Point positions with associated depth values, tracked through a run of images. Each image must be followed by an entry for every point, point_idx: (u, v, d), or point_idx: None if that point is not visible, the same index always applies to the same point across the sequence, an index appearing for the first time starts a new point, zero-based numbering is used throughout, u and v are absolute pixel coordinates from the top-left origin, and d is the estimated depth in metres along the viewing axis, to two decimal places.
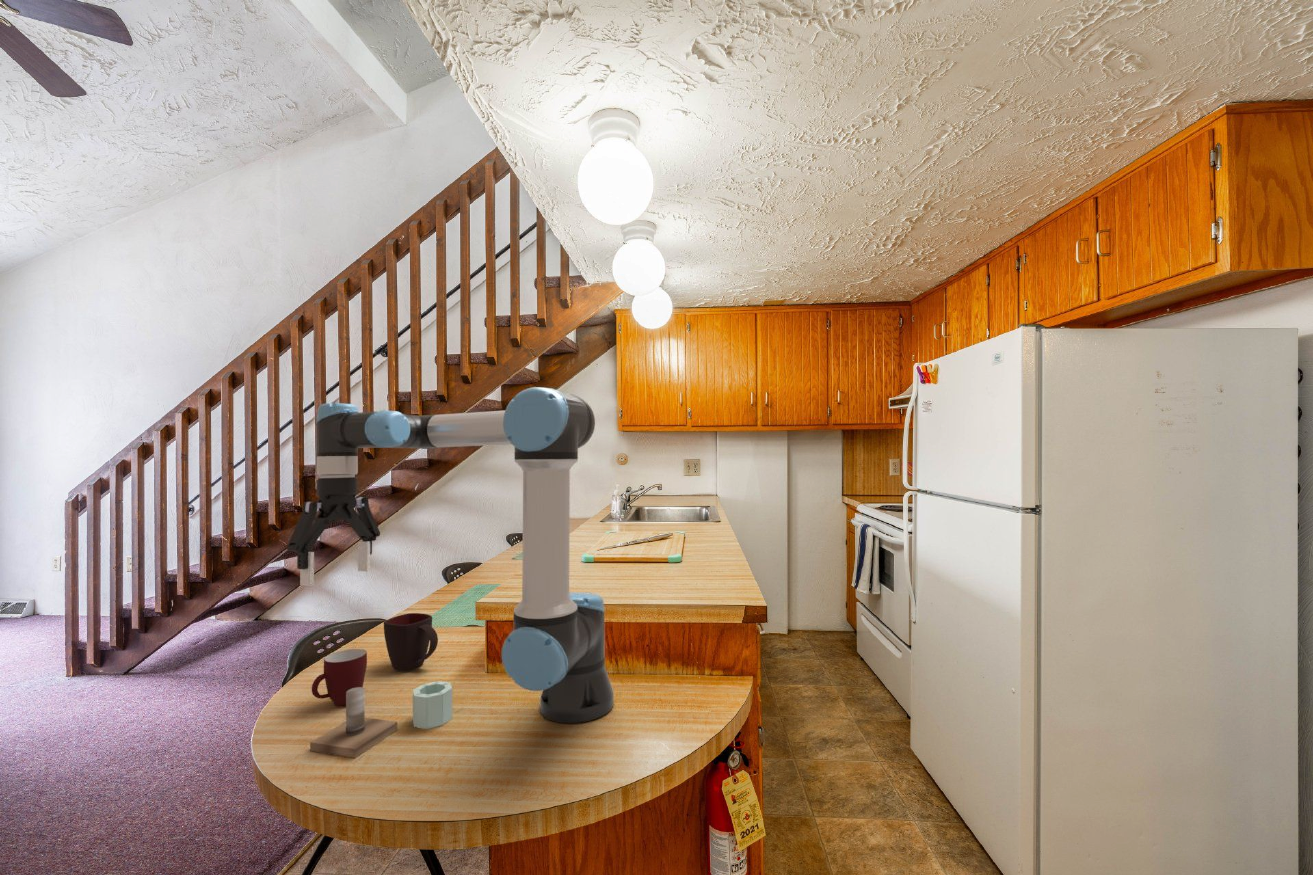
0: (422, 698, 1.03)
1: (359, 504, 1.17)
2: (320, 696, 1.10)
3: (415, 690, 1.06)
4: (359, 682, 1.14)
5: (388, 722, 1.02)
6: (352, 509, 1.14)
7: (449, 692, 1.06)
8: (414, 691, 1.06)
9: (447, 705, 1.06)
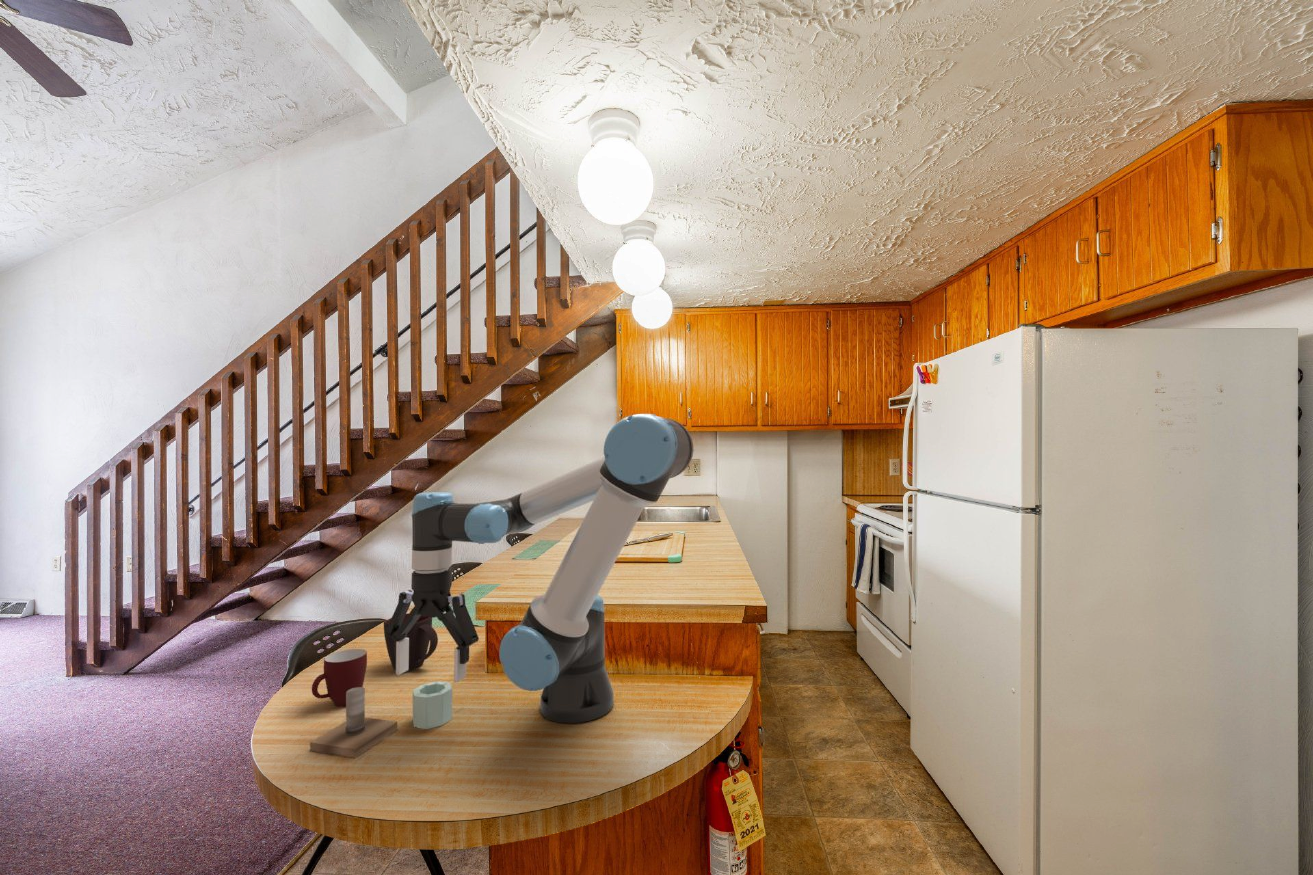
0: (422, 698, 1.03)
1: (452, 603, 1.06)
2: (320, 696, 1.10)
3: (415, 690, 1.06)
4: (359, 682, 1.14)
5: (388, 722, 1.02)
6: (434, 608, 1.05)
7: (449, 692, 1.06)
8: (414, 691, 1.06)
9: (447, 705, 1.06)
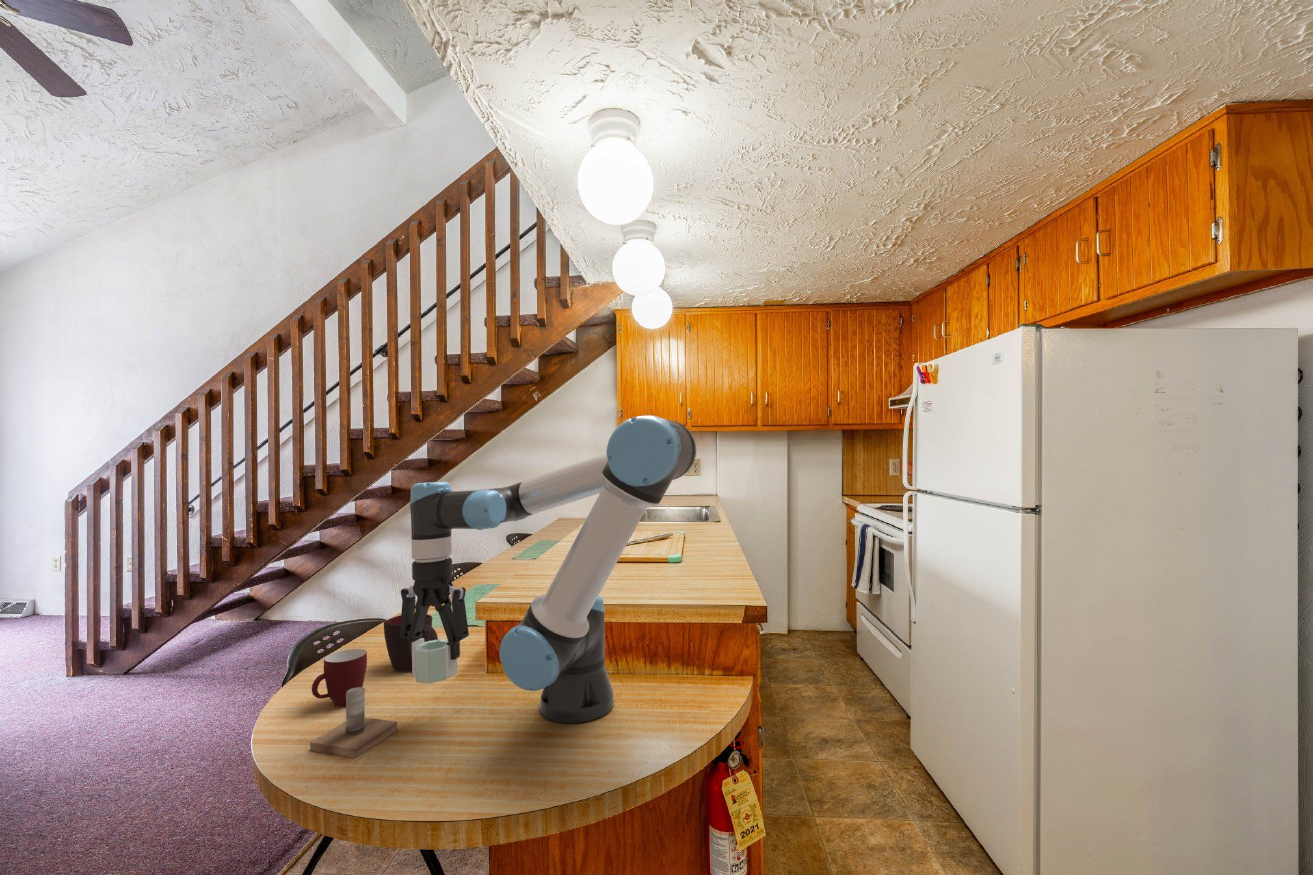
0: (424, 653, 1.03)
1: (452, 594, 1.06)
2: (320, 696, 1.10)
3: (417, 647, 1.06)
4: (359, 682, 1.14)
5: (388, 722, 1.02)
6: (434, 597, 1.05)
7: None
8: (416, 647, 1.06)
9: None
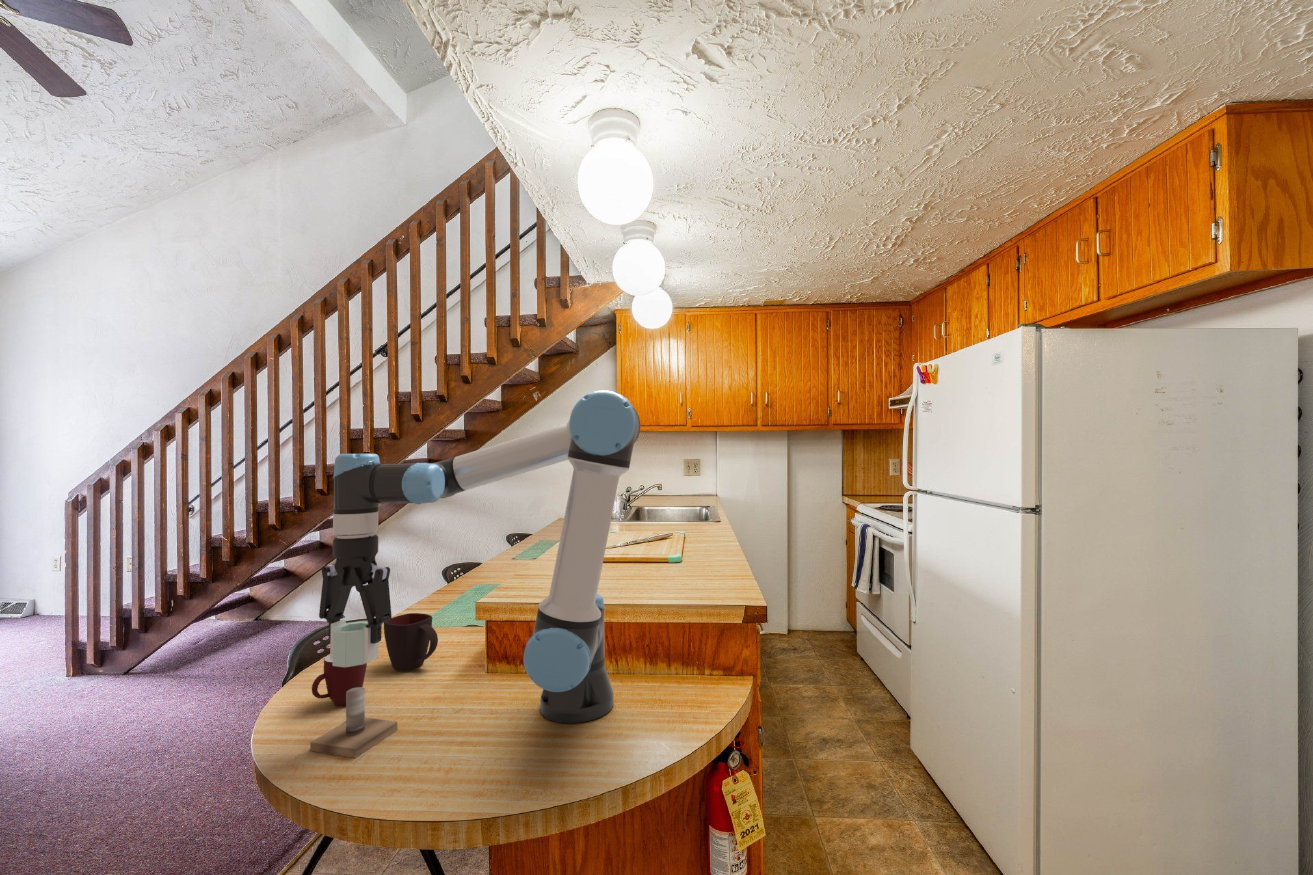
0: (341, 634, 0.96)
1: (374, 574, 0.99)
2: (320, 696, 1.10)
3: (336, 628, 0.99)
4: (359, 682, 1.14)
5: (388, 722, 1.02)
6: (355, 577, 0.98)
7: None
8: (335, 628, 0.99)
9: None
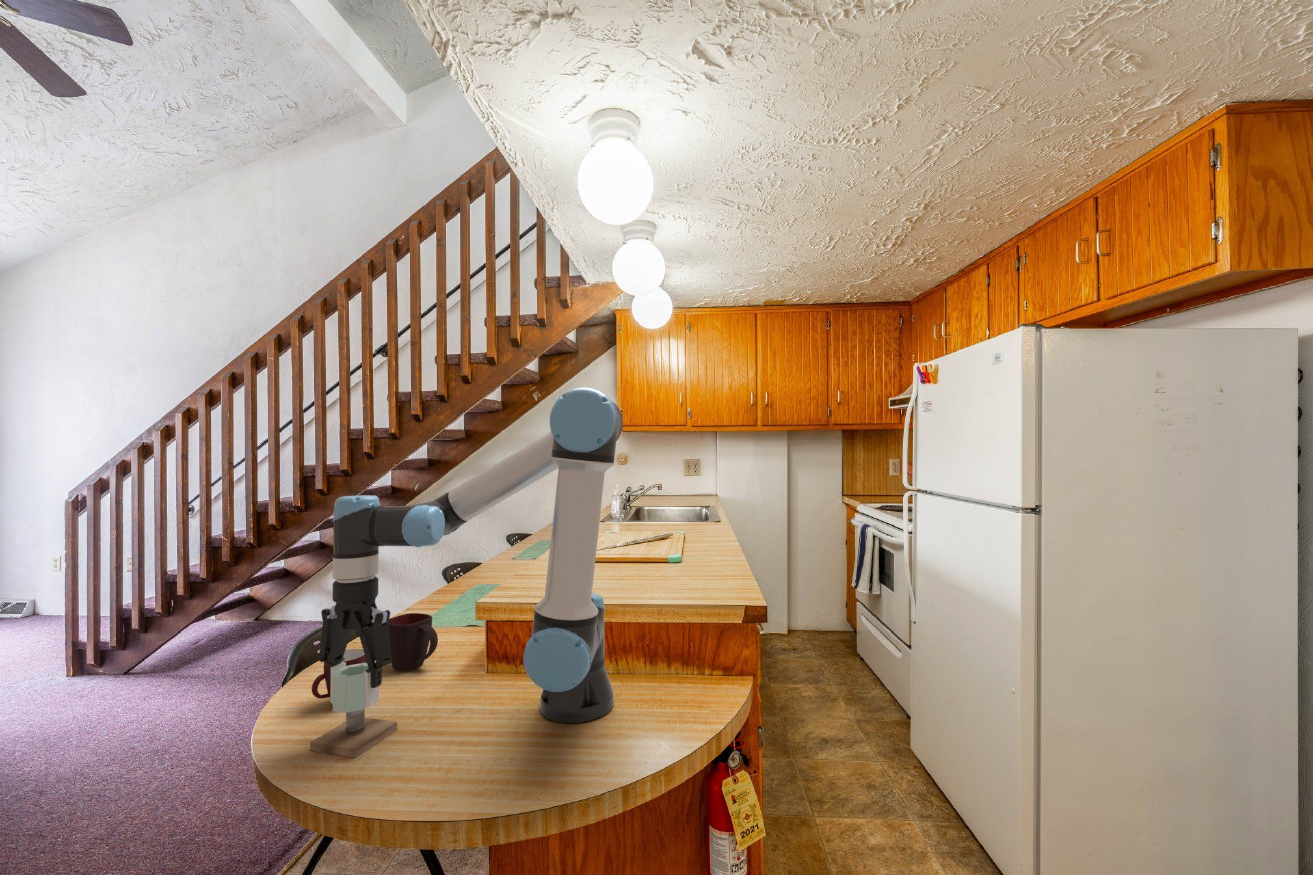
0: (341, 680, 0.96)
1: (374, 618, 0.98)
2: (320, 696, 1.10)
3: (336, 672, 0.99)
4: None
5: (388, 722, 1.02)
6: (355, 621, 0.98)
7: None
8: (335, 672, 0.99)
9: None
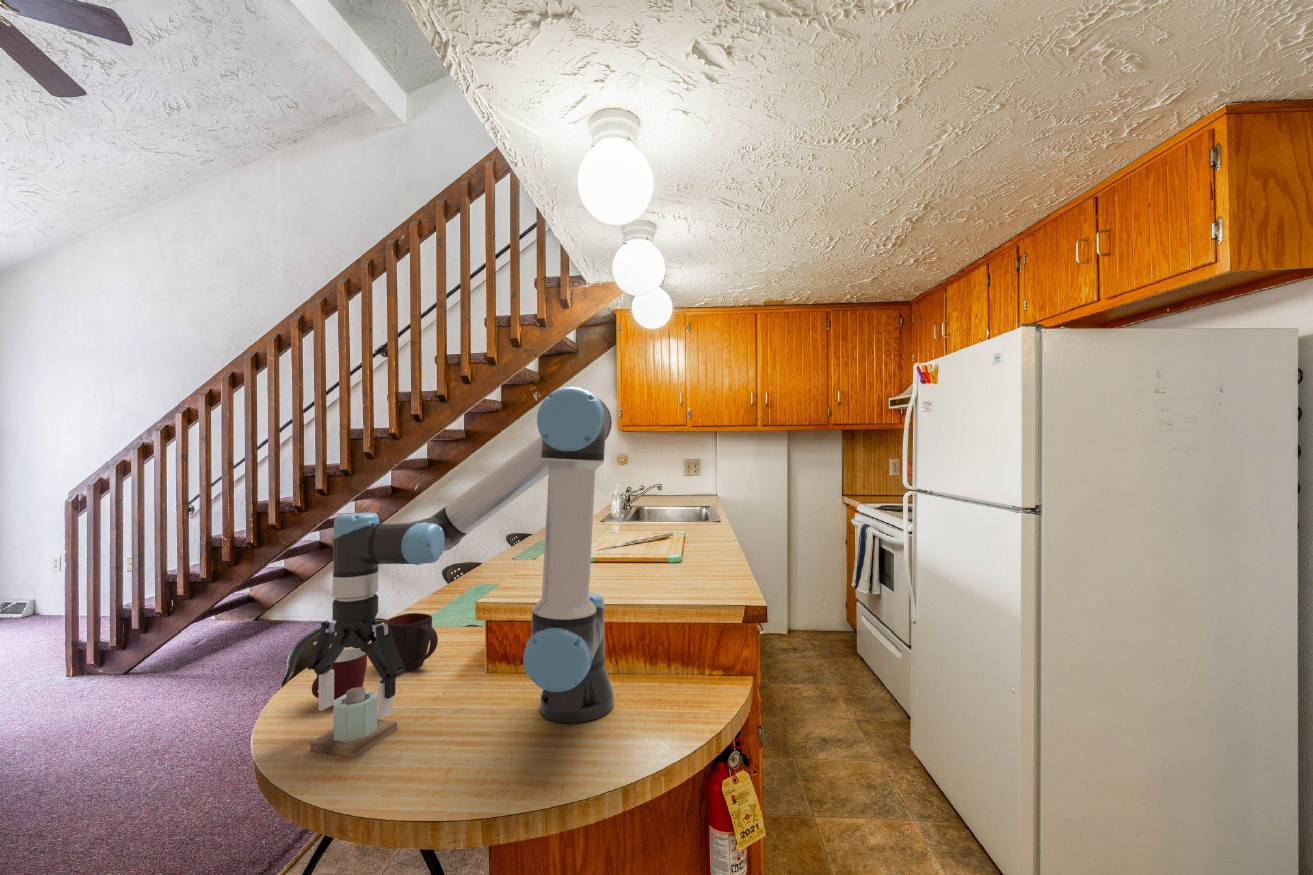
0: (342, 709, 0.96)
1: None
2: None
3: (337, 700, 0.99)
4: (359, 682, 1.14)
5: (388, 722, 1.02)
6: (357, 638, 0.98)
7: (373, 702, 0.99)
8: (335, 701, 0.98)
9: (370, 716, 0.98)
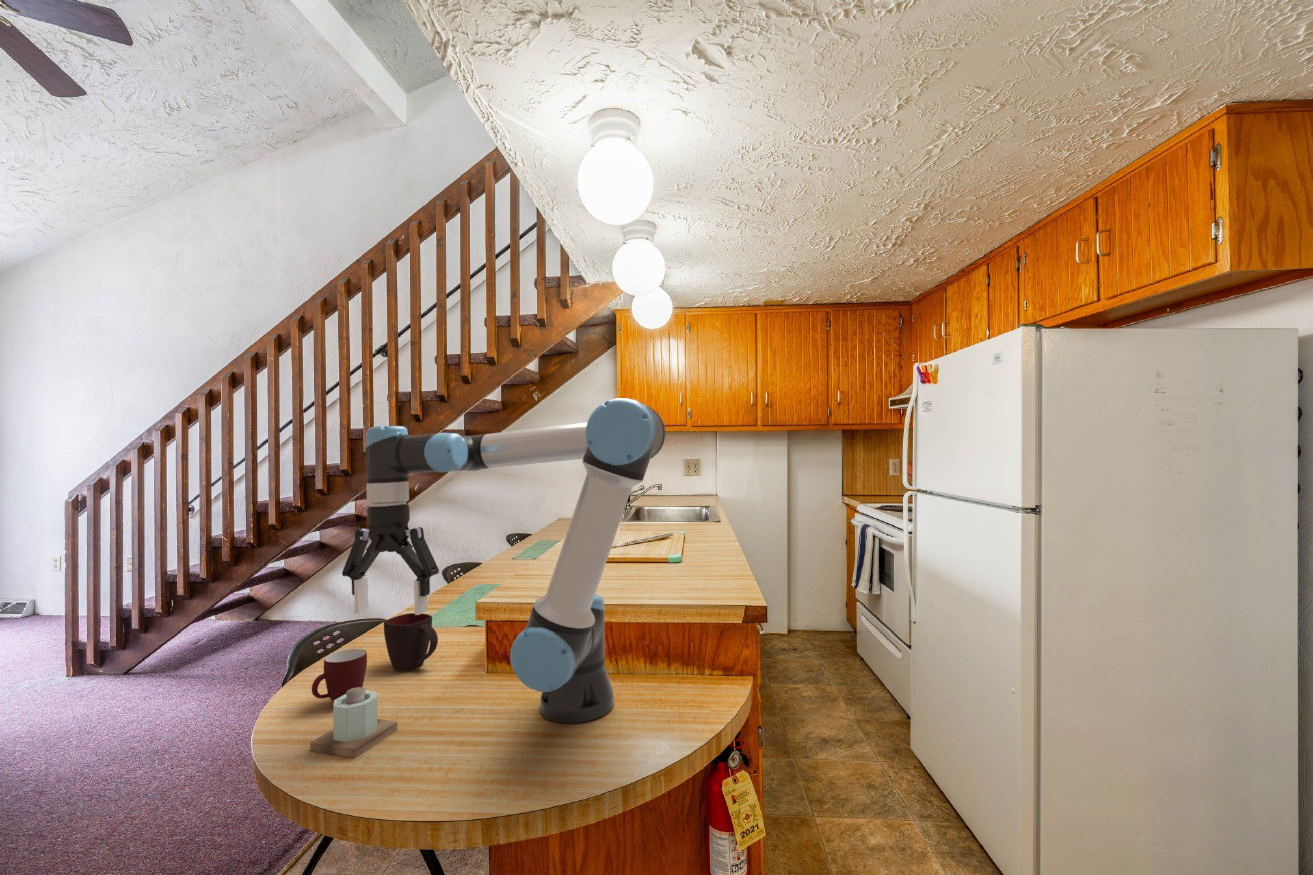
0: (342, 709, 0.96)
1: None
2: (320, 696, 1.10)
3: (337, 700, 0.99)
4: (359, 682, 1.14)
5: (388, 722, 1.02)
6: (392, 541, 1.03)
7: (373, 702, 0.99)
8: (335, 701, 0.98)
9: (370, 716, 0.98)
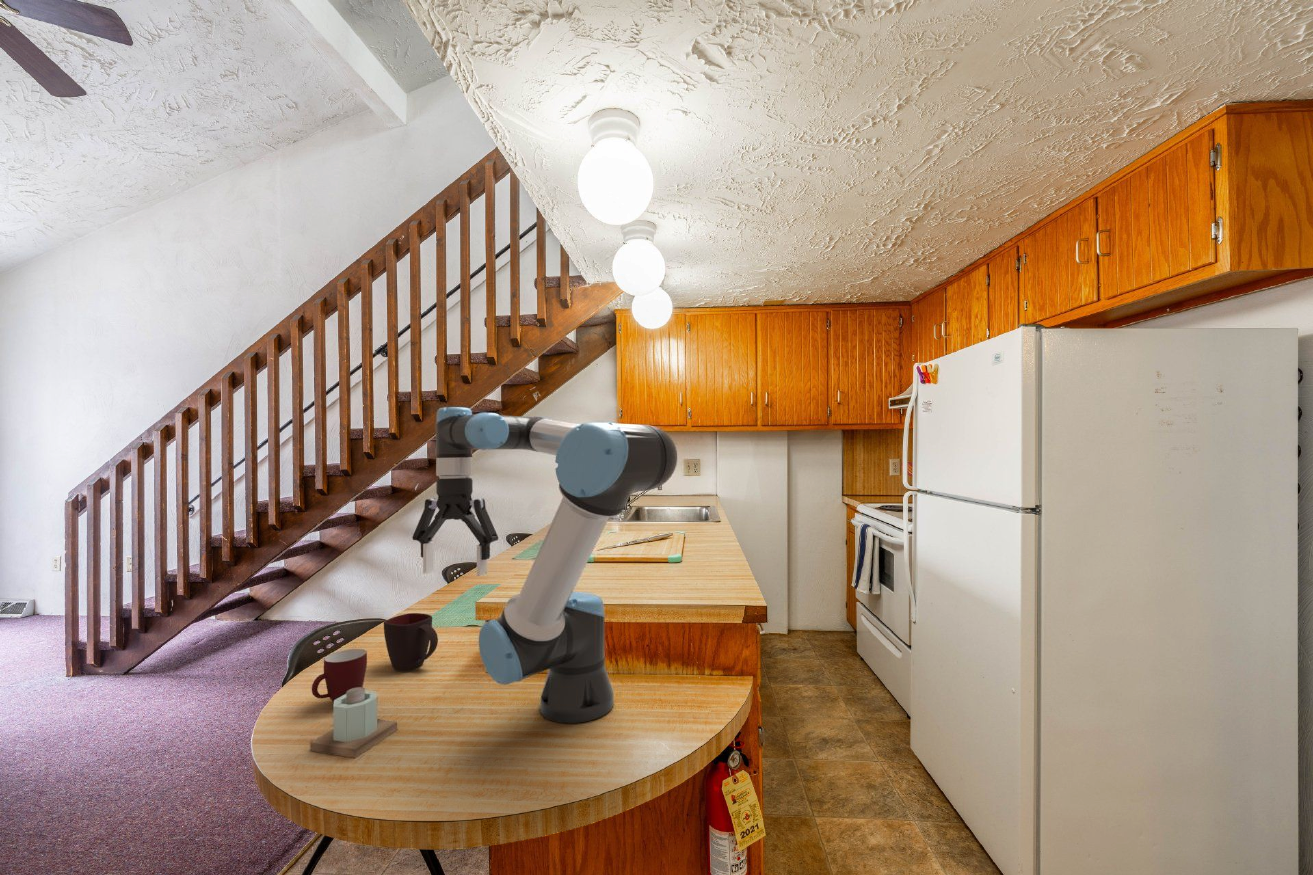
0: (342, 709, 0.96)
1: (473, 506, 1.16)
2: (320, 696, 1.10)
3: (337, 700, 0.99)
4: (359, 682, 1.14)
5: (388, 722, 1.02)
6: (457, 510, 1.16)
7: (373, 702, 0.99)
8: (335, 701, 0.98)
9: (370, 716, 0.98)
